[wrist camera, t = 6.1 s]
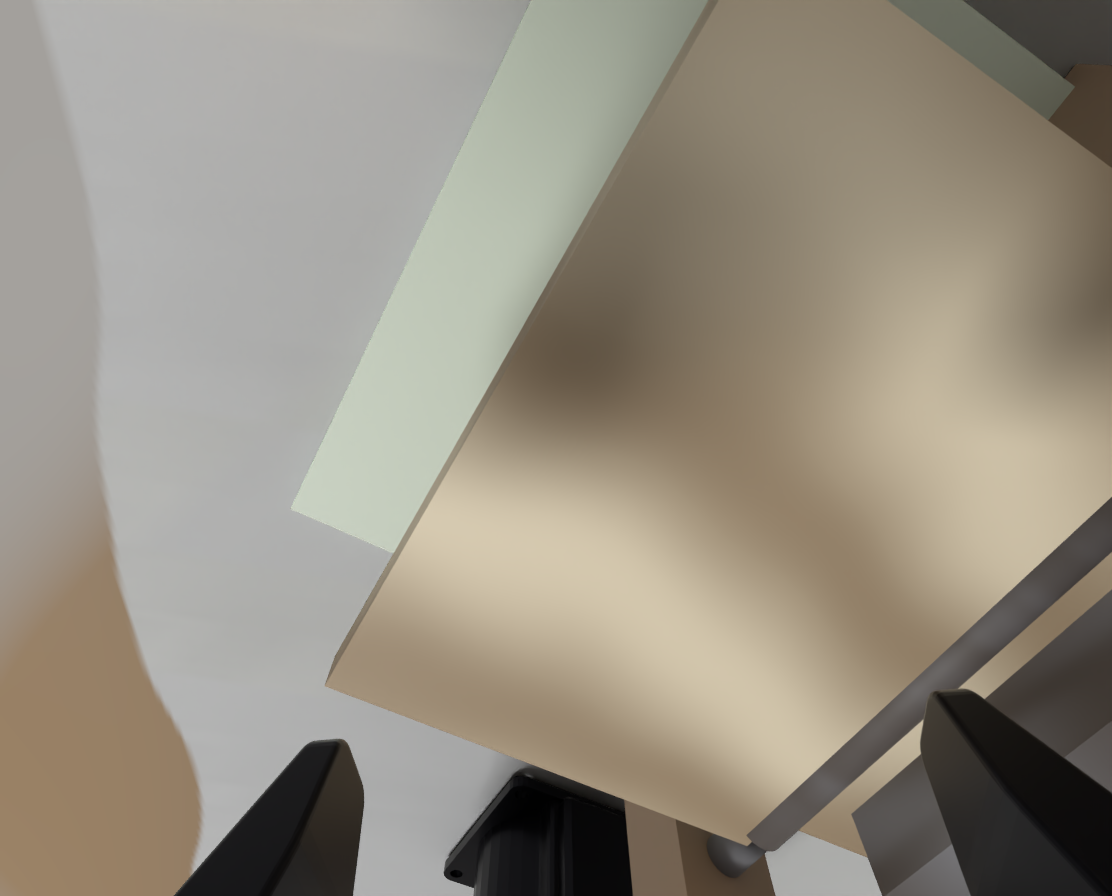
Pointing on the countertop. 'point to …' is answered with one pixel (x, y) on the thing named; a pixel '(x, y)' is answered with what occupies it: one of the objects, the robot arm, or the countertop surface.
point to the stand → (527, 265)
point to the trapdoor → (786, 454)
